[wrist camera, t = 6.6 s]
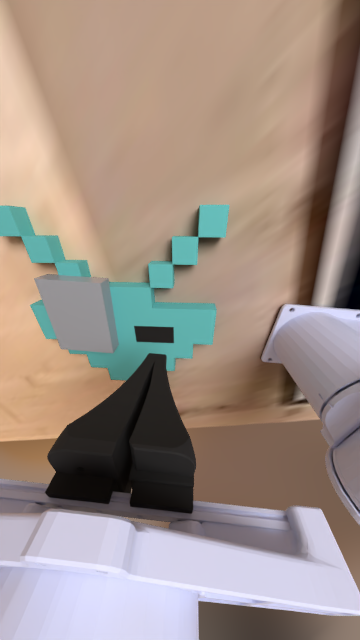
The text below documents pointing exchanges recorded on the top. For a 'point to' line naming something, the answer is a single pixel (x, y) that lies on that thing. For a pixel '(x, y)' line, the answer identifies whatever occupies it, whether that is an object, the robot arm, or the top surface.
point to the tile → (80, 312)
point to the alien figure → (133, 296)
